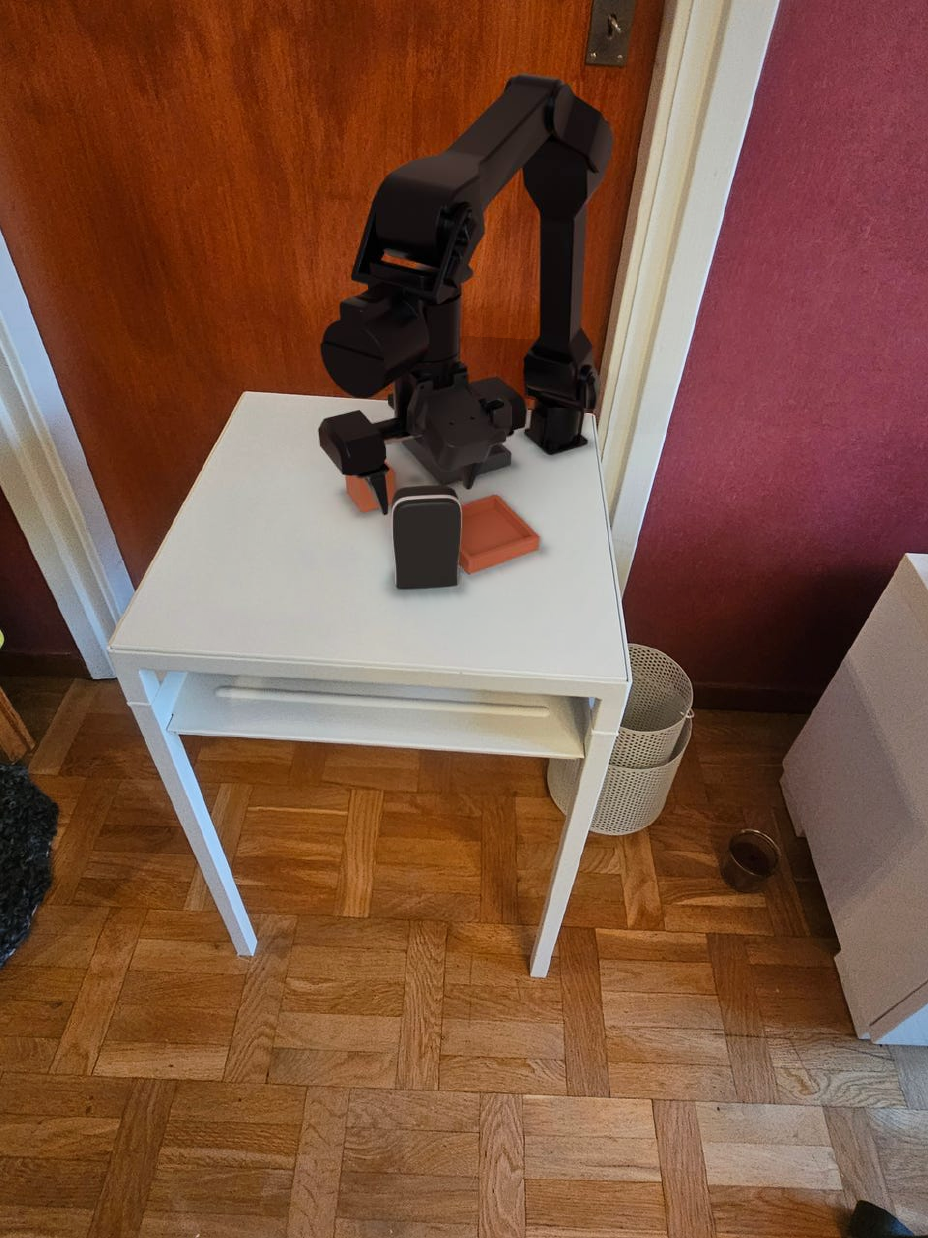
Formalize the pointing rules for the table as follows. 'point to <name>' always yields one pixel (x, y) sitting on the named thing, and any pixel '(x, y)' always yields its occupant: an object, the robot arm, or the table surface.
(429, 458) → the charcoal tray
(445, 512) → the battery charger
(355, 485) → the terracotta block
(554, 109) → the robot arm
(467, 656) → the table surface
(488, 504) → the terracotta tray
